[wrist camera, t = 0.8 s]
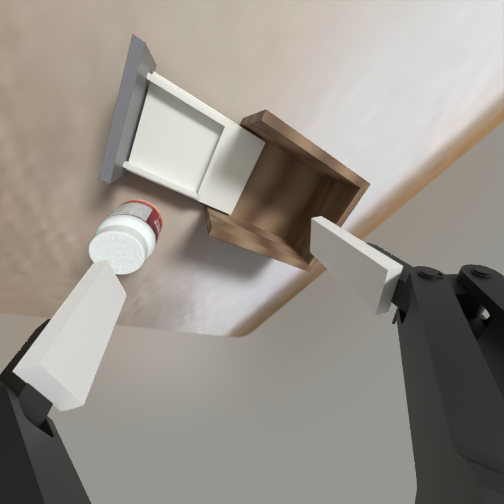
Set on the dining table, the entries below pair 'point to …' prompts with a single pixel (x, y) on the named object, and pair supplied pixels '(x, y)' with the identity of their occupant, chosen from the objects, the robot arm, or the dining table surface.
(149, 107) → the tray
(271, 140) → the wooden box
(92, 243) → the pill bottle
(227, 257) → the dining table surface
